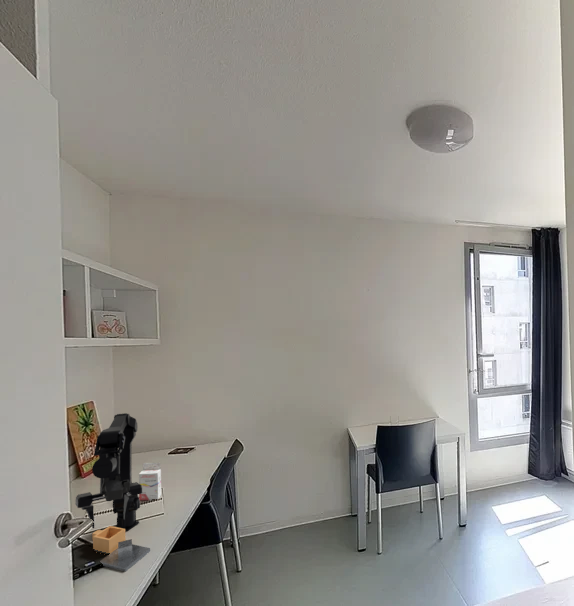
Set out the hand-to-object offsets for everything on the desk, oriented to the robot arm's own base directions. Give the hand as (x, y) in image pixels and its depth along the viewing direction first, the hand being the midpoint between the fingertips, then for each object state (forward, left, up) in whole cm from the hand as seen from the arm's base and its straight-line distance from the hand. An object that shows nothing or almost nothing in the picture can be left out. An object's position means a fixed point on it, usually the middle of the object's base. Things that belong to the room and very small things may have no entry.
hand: (109, 523), depth 119 cm
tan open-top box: (-10, -12, -15) cm, 21 cm away
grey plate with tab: (-7, -1, -15) cm, 16 cm away
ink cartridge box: (-45, -24, -15) cm, 53 cm away
